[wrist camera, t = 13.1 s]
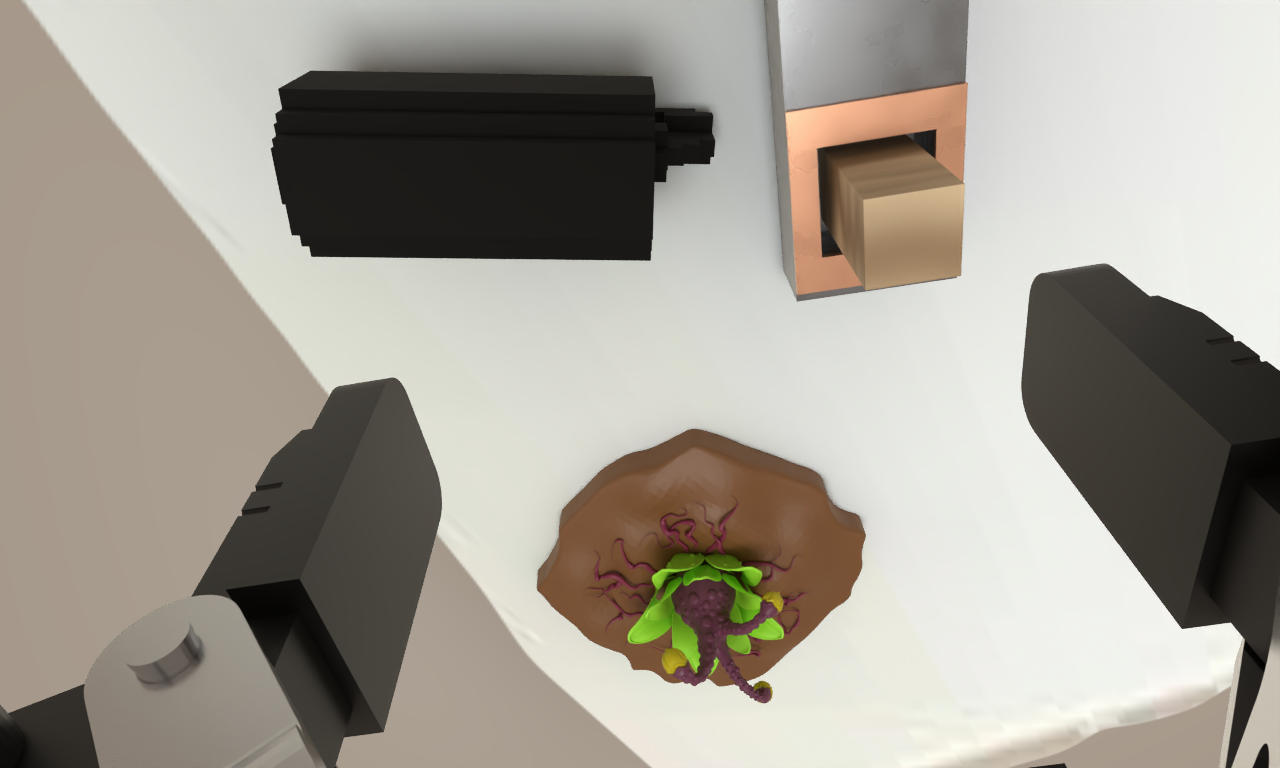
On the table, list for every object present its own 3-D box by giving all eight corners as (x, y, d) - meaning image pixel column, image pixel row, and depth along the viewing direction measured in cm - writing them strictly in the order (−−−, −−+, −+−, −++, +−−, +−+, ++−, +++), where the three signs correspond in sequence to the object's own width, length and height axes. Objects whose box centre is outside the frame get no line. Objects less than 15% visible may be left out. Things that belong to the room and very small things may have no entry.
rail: (744, -279, 33) (759, -301, 29) (945, -318, 32) (987, -345, 29) (783, 270, 45) (798, 304, 41) (930, 248, 45) (958, 280, 41)
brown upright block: (817, 142, 41) (863, 199, 33) (899, 128, 40) (964, 183, 33) (821, 218, 43) (865, 290, 35) (899, 206, 42) (960, 275, 35)
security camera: (704, 199, 43) (725, 275, 34) (349, 194, 43) (280, 270, 34) (713, 59, 40) (738, 105, 31) (326, 52, 39) (242, 97, 30)
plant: (668, 378, 49) (679, 496, 39) (903, 522, 55) (962, 655, 45) (498, 582, 57) (473, 721, 48) (719, 688, 63) (736, 830, 54)
